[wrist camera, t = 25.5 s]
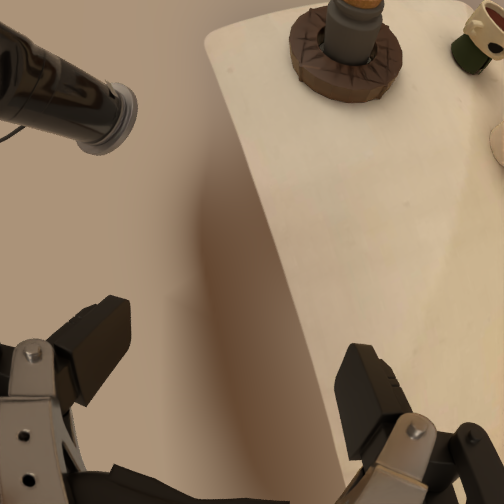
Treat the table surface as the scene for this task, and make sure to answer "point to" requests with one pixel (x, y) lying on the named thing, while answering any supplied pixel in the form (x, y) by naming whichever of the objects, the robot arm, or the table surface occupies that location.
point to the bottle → (352, 30)
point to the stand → (338, 75)
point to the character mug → (481, 38)
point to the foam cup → (498, 143)
